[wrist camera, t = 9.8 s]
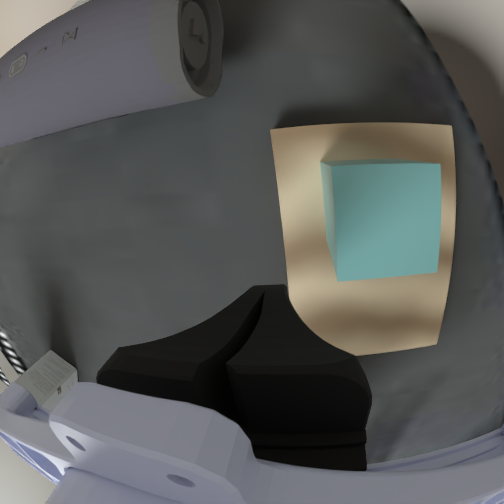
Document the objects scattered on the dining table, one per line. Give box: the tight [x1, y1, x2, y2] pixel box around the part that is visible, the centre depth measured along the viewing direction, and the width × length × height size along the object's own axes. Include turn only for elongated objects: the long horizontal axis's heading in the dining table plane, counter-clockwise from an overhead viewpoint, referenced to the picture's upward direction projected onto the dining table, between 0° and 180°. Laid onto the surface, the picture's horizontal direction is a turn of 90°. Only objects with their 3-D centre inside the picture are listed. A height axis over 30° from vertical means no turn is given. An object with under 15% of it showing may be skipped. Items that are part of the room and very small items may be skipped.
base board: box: [270, 122, 456, 356], centre depth 19 cm, size 18×13×2 cm
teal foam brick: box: [320, 159, 441, 282], centre depth 14 cm, size 5×5×7 cm
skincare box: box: [14, 350, 78, 412], centre depth 27 cm, size 8×6×15 cm
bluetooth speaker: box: [0, 0, 224, 147], centre depth 14 cm, size 23×9×10 cm, turn 89°
